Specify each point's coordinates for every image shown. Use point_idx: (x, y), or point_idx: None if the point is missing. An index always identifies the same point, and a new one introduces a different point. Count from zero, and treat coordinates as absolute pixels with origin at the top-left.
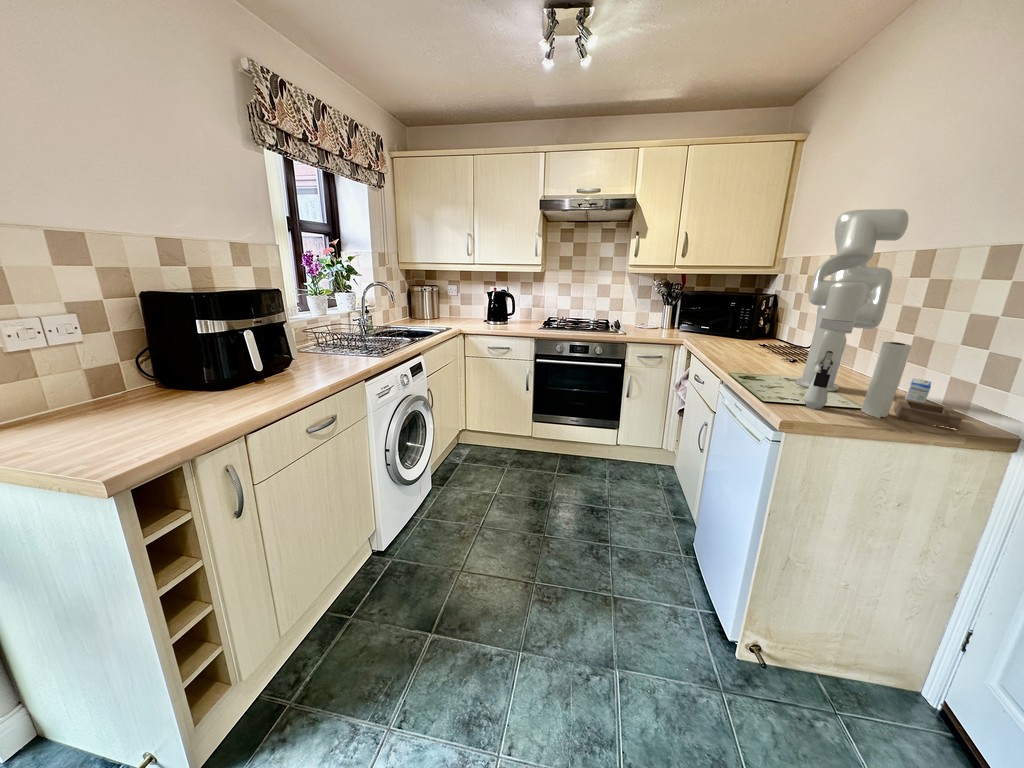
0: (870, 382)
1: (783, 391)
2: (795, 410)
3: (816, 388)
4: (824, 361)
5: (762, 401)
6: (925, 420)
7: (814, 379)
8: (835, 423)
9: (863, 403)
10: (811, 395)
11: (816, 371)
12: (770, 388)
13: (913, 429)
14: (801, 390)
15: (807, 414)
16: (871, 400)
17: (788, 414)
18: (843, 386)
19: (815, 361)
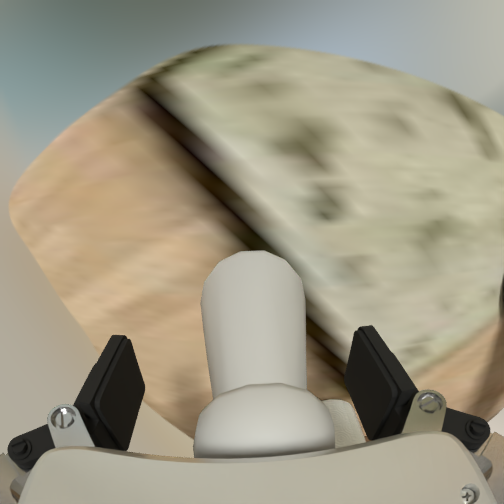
0: None
1: (438, 154)
2: (125, 224)
3: (207, 335)
4: (2, 485)
5: (152, 79)
6: None
7: (235, 349)
8: (98, 343)
9: (333, 419)
10: (206, 296)
11: (216, 403)
12: (445, 102)
13: None
14: (487, 224)
15: (111, 269)
16: None
17: (52, 210)
18: None
19: (38, 463)
